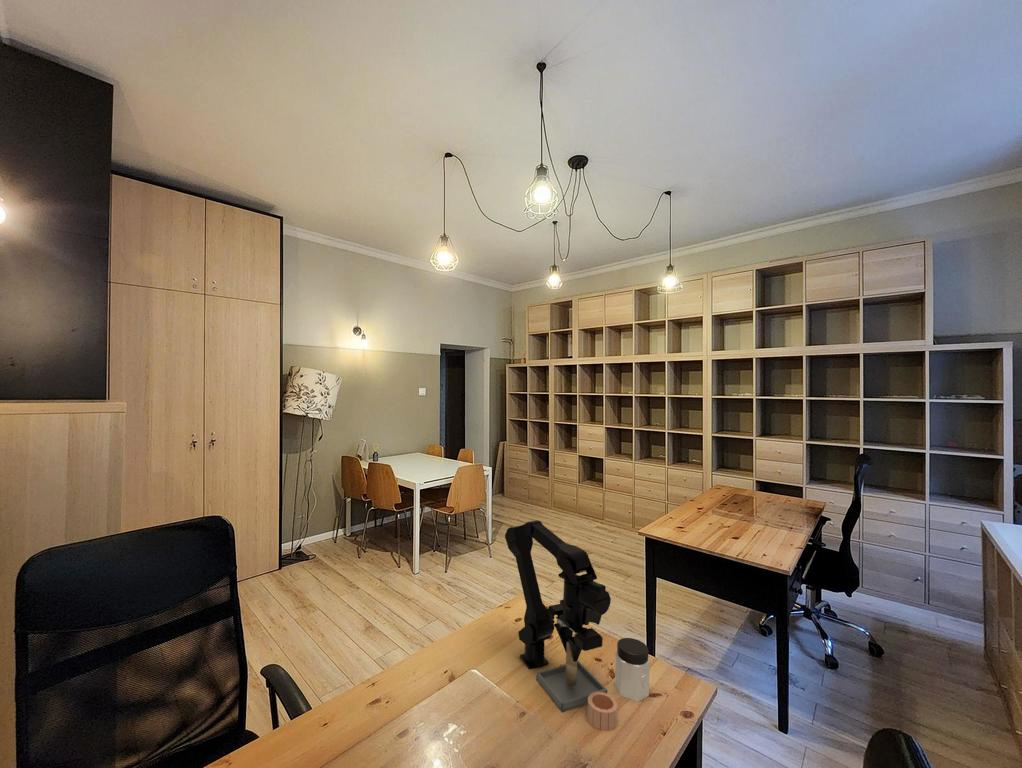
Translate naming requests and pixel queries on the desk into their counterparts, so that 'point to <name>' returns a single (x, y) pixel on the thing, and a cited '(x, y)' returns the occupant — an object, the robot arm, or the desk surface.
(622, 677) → the jar
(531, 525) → the robot arm
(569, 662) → the dowel
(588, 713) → the cup
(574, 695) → the tray
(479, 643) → the desk surface
